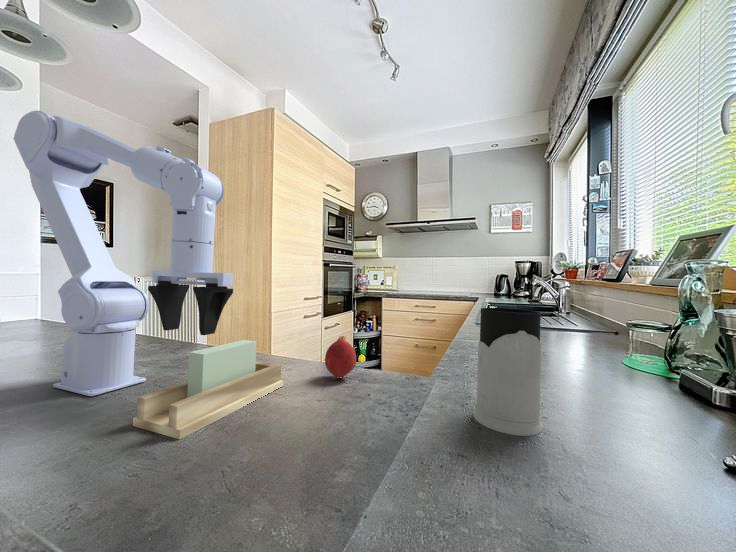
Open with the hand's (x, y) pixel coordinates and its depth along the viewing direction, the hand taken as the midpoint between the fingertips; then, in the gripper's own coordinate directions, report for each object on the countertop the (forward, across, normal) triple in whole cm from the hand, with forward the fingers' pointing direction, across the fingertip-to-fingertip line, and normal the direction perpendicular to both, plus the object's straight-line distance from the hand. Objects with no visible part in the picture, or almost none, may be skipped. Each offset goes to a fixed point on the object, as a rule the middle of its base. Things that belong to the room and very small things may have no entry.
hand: (188, 331), depth 47 cm
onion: (+10, -18, -17) cm, 27 cm away
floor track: (+9, -8, 0) cm, 12 cm away
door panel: (+8, -8, 0) cm, 11 cm away
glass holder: (+10, -45, -14) cm, 48 cm away
